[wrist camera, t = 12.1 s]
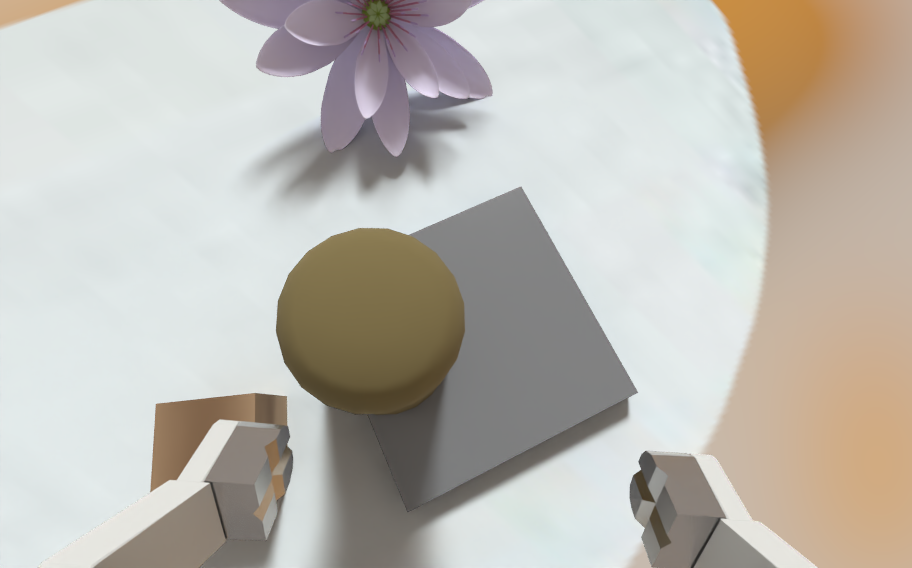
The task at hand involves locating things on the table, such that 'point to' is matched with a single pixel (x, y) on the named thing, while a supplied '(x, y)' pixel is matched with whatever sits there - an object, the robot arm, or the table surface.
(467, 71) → the water lily
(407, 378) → the cork
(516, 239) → the coaster
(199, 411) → the walnut block
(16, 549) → the table surface
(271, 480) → the robot arm
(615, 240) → the table surface
